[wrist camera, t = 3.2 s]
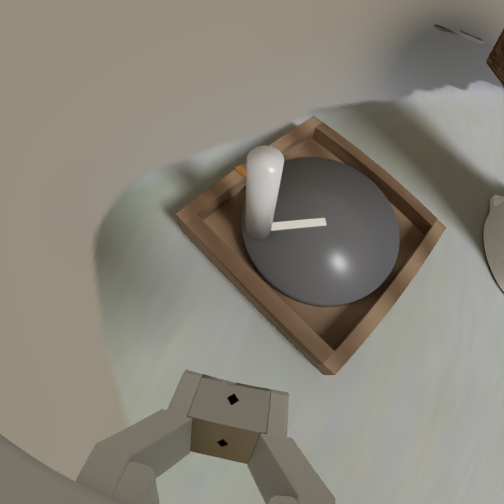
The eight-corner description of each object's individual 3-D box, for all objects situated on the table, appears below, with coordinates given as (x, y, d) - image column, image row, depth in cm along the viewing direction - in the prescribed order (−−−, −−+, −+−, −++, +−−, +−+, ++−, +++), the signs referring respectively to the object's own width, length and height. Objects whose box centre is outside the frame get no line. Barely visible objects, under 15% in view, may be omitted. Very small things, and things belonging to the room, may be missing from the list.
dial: (369, 162, 34) (404, 92, 23) (411, 292, 28) (480, 249, 17) (233, 168, 32) (231, 87, 22) (252, 318, 27) (259, 282, 16)
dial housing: (308, 134, 37) (313, 114, 34) (430, 240, 32) (446, 226, 29) (181, 230, 31) (175, 212, 28) (324, 374, 26) (335, 374, 23)
